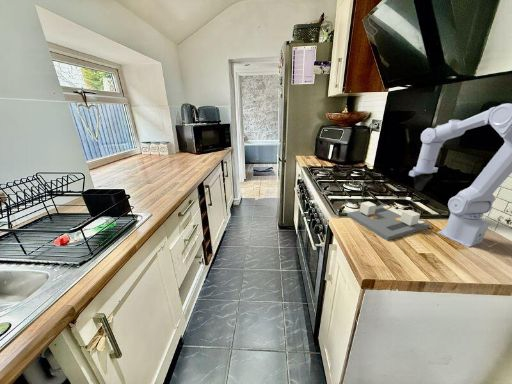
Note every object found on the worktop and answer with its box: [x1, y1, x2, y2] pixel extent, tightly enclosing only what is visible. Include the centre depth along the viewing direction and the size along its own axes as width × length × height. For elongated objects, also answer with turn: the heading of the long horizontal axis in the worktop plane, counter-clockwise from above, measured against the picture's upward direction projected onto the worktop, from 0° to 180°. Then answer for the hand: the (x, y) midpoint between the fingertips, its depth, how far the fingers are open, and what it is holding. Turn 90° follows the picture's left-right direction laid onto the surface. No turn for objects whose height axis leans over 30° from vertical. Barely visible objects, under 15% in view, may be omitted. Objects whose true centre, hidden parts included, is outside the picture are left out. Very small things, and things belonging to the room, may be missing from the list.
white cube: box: [400, 209, 421, 226], centre depth 81 cm, size 4×4×4 cm
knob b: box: [359, 201, 377, 216], centre depth 89 cm, size 4×4×4 cm
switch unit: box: [346, 204, 431, 241], centre depth 86 cm, size 19×22×2 cm
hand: (418, 189), depth 92 cm, fingers closed
